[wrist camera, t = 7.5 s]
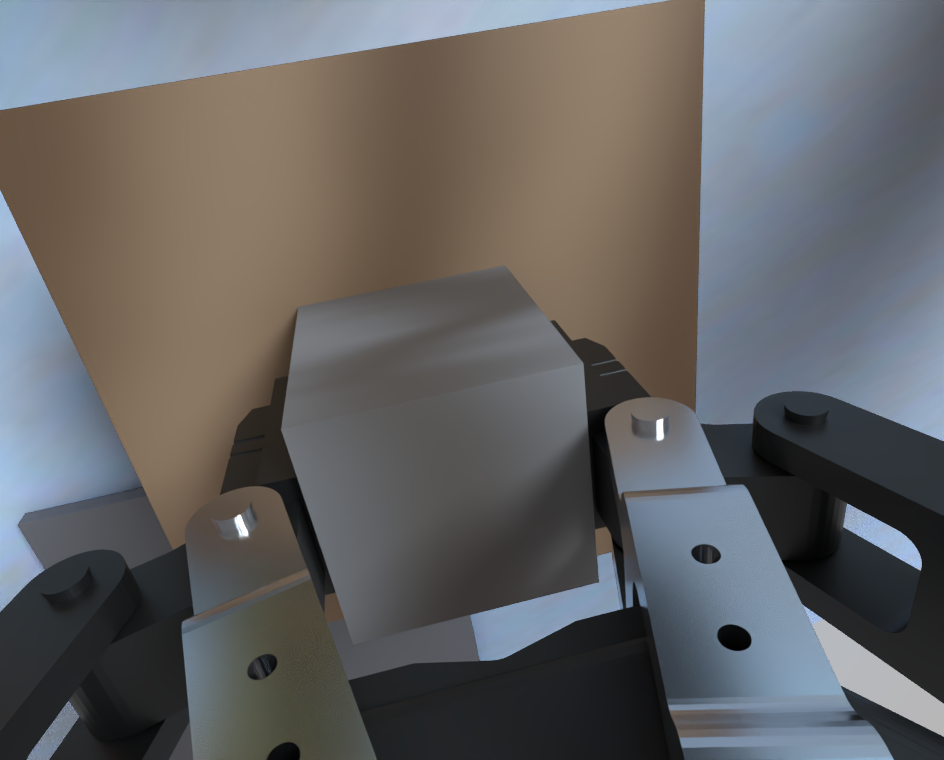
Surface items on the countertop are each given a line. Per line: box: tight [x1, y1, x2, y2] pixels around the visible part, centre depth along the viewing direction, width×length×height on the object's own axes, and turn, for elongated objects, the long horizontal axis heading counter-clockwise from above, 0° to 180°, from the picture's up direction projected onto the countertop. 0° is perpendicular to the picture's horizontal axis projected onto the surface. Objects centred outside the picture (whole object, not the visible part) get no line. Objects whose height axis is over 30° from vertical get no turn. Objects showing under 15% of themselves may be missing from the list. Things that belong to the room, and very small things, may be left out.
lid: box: [0, 0, 705, 645], centre depth 12 cm, size 12×12×6 cm
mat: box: [18, 487, 479, 760], centre depth 26 cm, size 14×14×1 cm
